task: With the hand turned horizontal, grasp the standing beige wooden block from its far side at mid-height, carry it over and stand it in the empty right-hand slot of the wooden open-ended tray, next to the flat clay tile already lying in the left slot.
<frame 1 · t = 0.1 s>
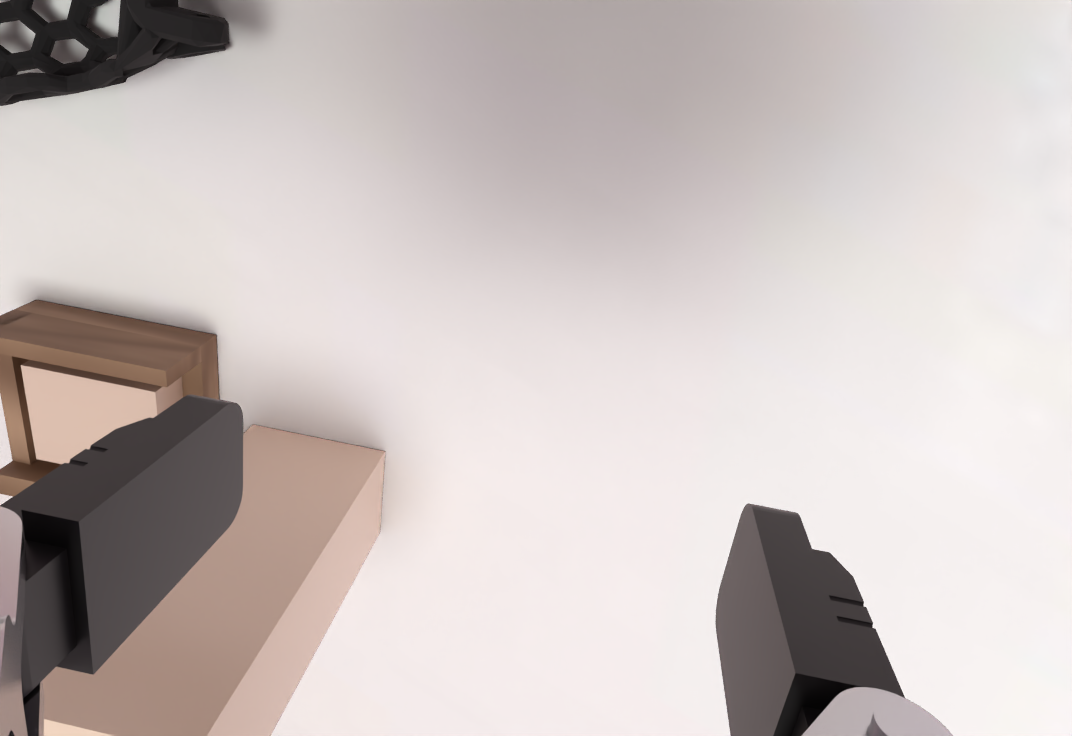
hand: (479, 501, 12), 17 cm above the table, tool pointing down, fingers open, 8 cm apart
decorative element: (5, 33, 28), on the table
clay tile: (122, 406, 32), point 1 cm above the table, touching wooden open-ended tray
beige wooden block: (317, 479, 34), on the table
wooden open-ended tray: (140, 466, 35), on the table
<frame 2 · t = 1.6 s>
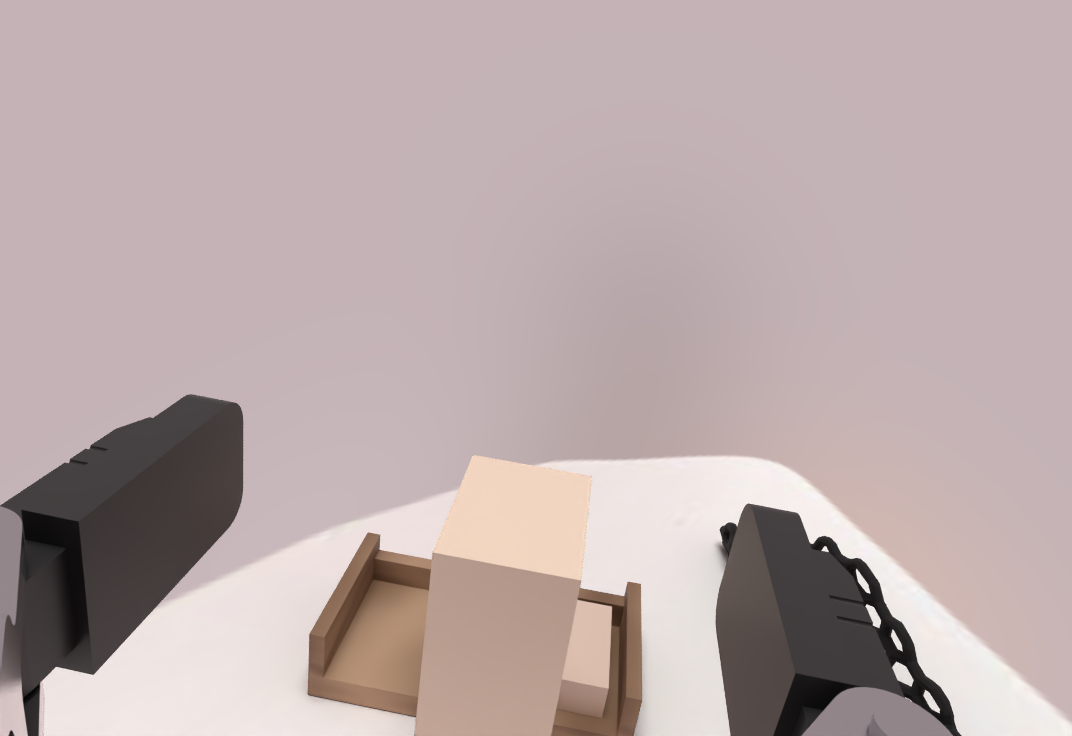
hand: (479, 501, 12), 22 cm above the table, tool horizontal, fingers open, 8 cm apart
decorative element: (820, 678, 41), on the table
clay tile: (560, 664, 37), point 1 cm above the table, touching wooden open-ended tray
wooden open-ended tray: (481, 663, 38), on the table
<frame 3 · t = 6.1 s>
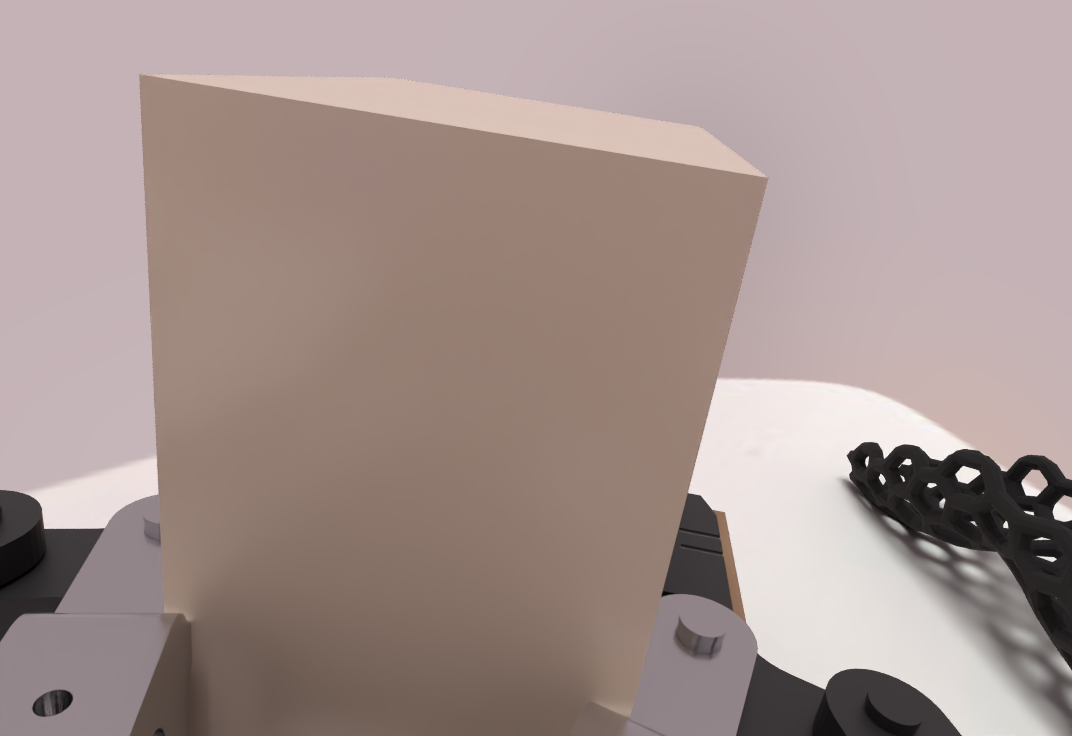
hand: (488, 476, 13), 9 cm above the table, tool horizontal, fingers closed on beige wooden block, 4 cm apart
decorative element: (1046, 675, 25), on the table
wooden open-ended tray: (445, 642, 21), on the table
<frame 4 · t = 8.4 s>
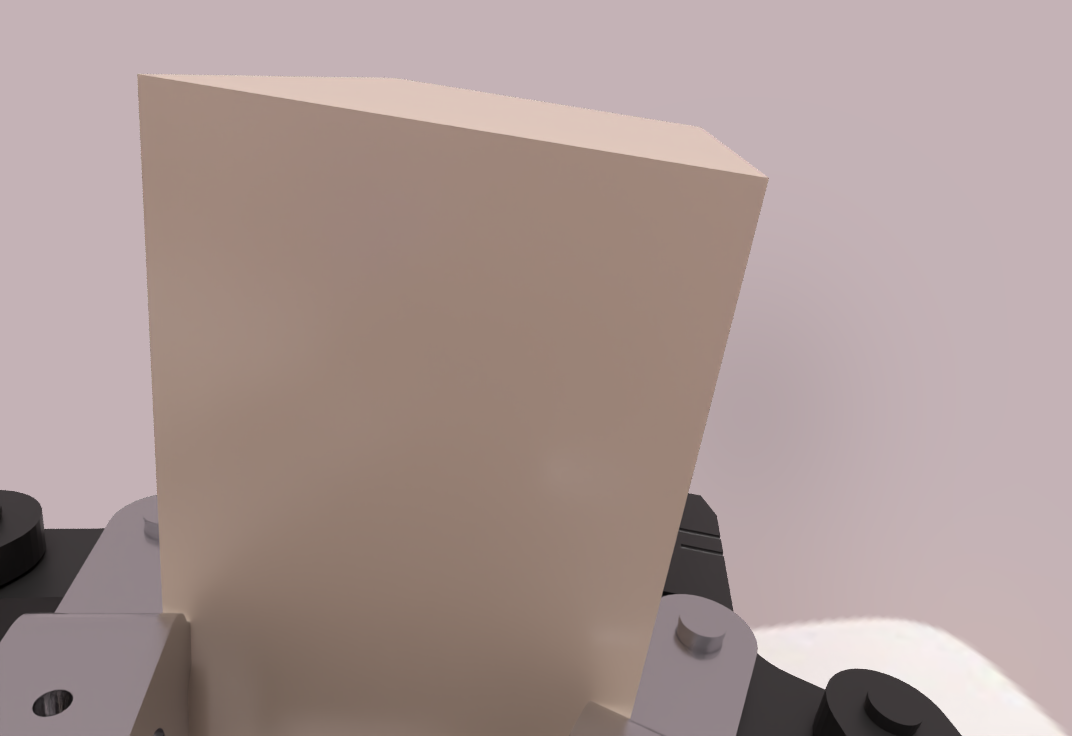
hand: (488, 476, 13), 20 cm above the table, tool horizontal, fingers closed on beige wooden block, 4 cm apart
when the fingers open (11 cm above the table, at t = 10.7 s): beige wooden block drops 1 cm, resting on wooden open-ended tray.
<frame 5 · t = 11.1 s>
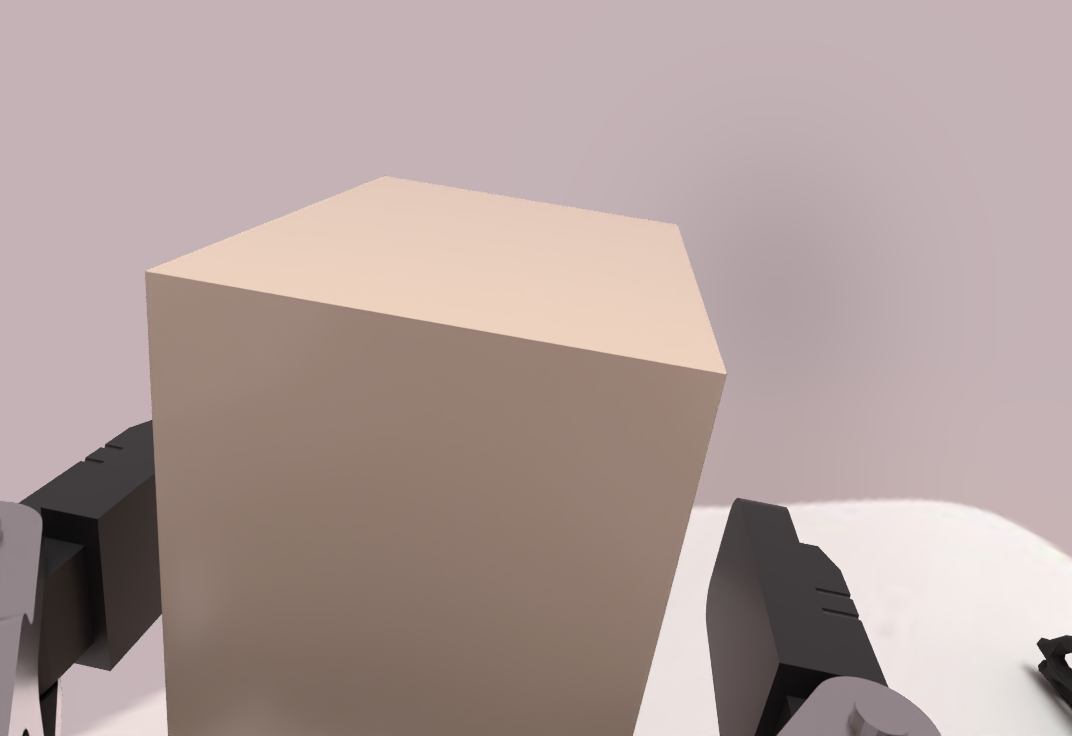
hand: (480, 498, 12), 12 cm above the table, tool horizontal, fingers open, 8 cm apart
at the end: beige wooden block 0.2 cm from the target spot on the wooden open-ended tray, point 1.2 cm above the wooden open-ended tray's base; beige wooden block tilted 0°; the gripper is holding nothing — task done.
